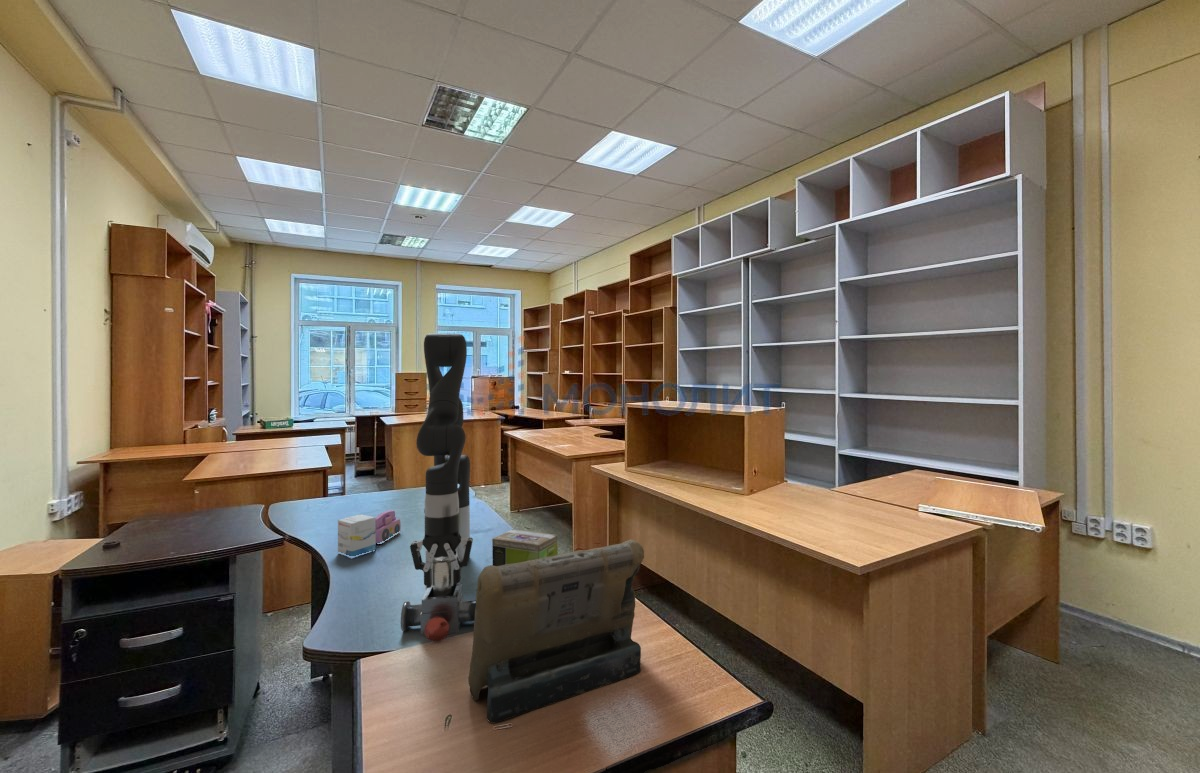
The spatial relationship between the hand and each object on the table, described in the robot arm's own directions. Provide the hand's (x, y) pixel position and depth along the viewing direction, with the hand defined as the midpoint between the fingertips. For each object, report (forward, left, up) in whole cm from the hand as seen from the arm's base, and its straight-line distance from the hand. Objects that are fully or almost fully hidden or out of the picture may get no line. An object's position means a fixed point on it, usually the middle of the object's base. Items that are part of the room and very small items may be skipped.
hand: (442, 585), depth 109 cm
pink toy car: (-70, -31, -10) cm, 77 cm away
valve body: (0, 0, -9) cm, 9 cm away
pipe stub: (0, 0, -4) cm, 4 cm away
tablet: (+25, +25, -10) cm, 37 cm away
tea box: (-16, +19, -10) cm, 27 cm away
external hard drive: (-18, -3, -10) cm, 21 cm away
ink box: (-55, -36, -10) cm, 66 cm away
